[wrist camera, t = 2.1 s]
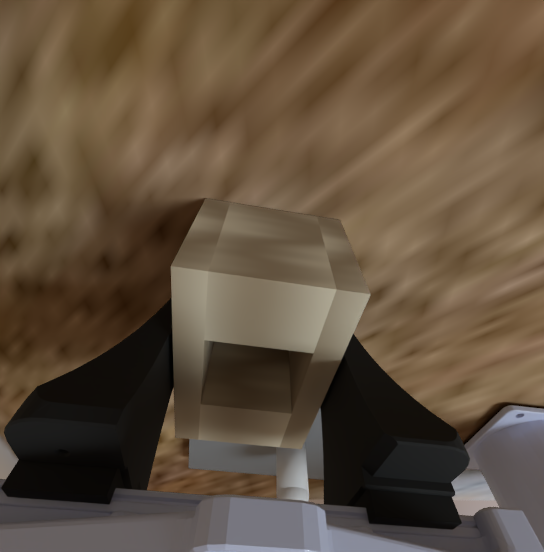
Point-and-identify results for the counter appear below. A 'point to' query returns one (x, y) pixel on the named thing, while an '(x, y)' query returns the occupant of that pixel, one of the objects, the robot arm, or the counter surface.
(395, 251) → the counter surface
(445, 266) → the counter surface
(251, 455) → the pin board
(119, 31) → the counter surface
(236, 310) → the hollow block
